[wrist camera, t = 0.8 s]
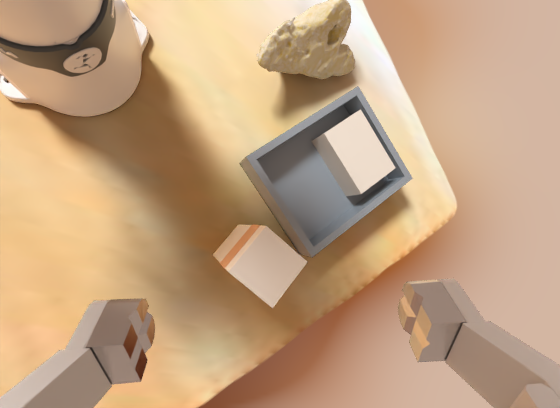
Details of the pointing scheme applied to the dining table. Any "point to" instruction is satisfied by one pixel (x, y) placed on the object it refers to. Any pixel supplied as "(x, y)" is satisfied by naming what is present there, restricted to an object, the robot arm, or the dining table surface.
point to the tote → (318, 178)
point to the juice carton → (260, 261)
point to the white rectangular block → (354, 154)
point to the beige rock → (311, 43)
